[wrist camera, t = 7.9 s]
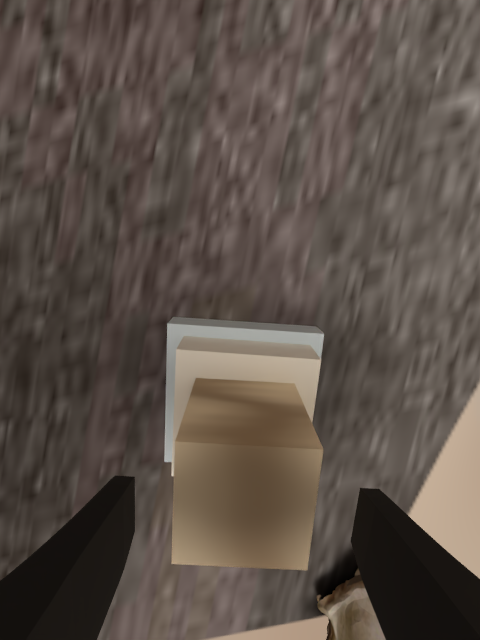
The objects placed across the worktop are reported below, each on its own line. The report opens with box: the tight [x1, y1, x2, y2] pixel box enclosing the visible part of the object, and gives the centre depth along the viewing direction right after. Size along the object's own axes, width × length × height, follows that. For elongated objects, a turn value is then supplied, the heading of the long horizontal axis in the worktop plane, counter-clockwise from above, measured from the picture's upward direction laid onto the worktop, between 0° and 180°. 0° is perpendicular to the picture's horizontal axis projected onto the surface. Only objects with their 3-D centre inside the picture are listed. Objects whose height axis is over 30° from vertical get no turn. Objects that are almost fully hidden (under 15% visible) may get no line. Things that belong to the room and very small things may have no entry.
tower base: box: [164, 317, 324, 462], centre depth 18 cm, size 8×8×2 cm
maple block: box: [172, 378, 323, 570], centre depth 13 cm, size 4×4×5 cm
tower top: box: [171, 336, 321, 476], centre depth 16 cm, size 6×6×2 cm
